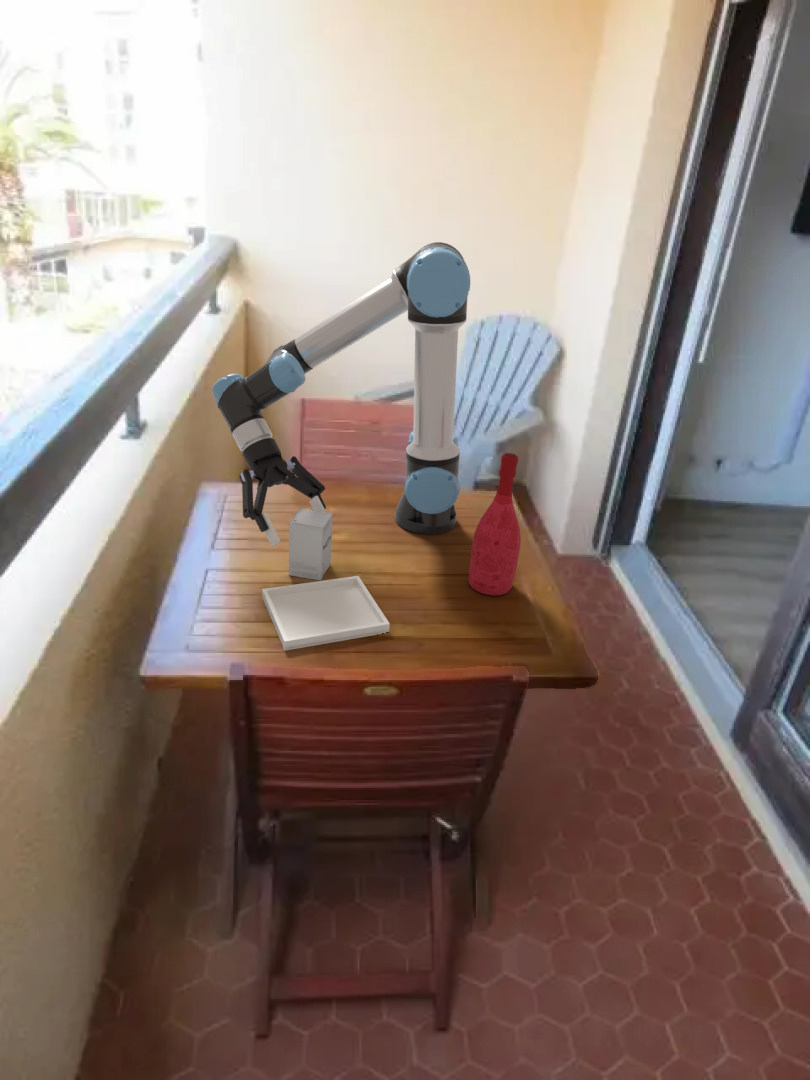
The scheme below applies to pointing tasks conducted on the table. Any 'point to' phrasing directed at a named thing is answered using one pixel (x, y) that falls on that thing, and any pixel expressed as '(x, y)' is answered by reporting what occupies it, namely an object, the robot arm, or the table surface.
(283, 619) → the white tray
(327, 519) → the supplement box
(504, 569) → the wine bottle
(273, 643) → the table surface
